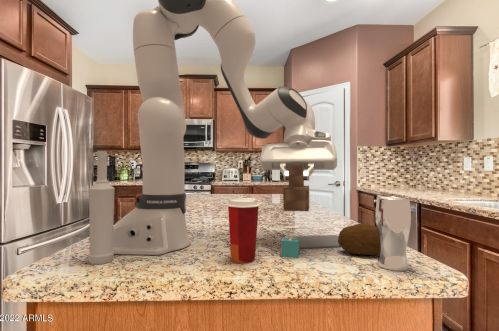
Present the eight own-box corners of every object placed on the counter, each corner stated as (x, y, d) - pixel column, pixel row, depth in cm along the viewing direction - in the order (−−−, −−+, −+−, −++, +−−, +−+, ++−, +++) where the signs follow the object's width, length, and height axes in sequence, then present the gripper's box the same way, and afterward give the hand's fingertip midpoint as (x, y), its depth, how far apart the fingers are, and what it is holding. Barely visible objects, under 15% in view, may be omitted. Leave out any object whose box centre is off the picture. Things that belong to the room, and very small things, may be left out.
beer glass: (417, 272, 60) (417, 199, 60) (383, 271, 61) (383, 199, 61) (400, 261, 67) (400, 196, 67) (370, 261, 67) (370, 196, 68)
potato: (335, 248, 78) (335, 219, 78) (383, 250, 77) (383, 220, 77) (341, 257, 70) (341, 225, 70) (395, 259, 69) (395, 227, 69)
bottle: (94, 257, 69) (95, 151, 69) (117, 257, 69) (118, 151, 69) (84, 265, 63) (85, 150, 64) (109, 264, 64) (110, 150, 64)
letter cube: (281, 257, 70) (281, 239, 70) (283, 252, 74) (283, 236, 74) (298, 258, 69) (298, 241, 69) (299, 253, 73) (299, 237, 73)
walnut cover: (283, 210, 72) (282, 166, 72) (286, 207, 77) (285, 166, 77) (308, 211, 70) (307, 165, 70) (309, 207, 76) (308, 165, 76)
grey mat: (299, 248, 77) (299, 247, 77) (286, 237, 89) (286, 236, 89) (355, 246, 80) (355, 245, 80) (336, 236, 92) (336, 235, 92)
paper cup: (263, 256, 70) (263, 198, 71) (253, 266, 63) (253, 202, 63) (233, 253, 73) (233, 197, 73) (220, 262, 66) (220, 200, 66)
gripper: (261, 135, 83) (253, 170, 74) (336, 133, 78) (338, 170, 69) (264, 151, 87) (257, 186, 78) (335, 150, 83) (337, 187, 73)
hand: (296, 178), depth 73 cm, fingers closed on walnut cover, 3 cm apart
